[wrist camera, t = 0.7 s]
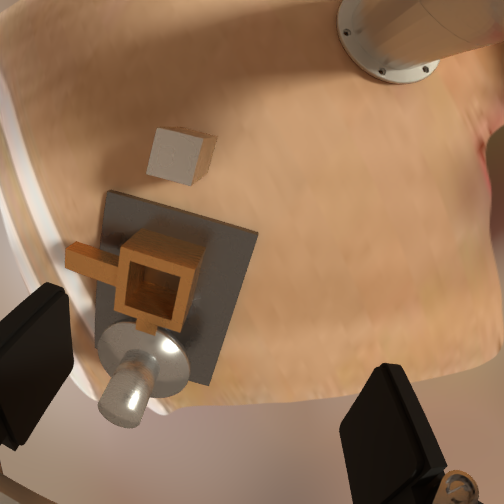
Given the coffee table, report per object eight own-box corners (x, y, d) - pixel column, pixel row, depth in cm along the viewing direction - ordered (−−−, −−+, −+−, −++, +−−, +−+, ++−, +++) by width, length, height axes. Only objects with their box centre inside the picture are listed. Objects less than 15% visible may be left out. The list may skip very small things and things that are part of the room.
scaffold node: (97, 186, 35) (17, 223, 21) (258, 232, 36) (252, 300, 22) (86, 339, 44) (40, 406, 30) (209, 381, 45) (192, 464, 31)
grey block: (184, 127, 32) (157, 127, 24) (219, 136, 32) (203, 138, 24) (174, 162, 34) (145, 174, 25) (209, 171, 34) (190, 186, 26)
